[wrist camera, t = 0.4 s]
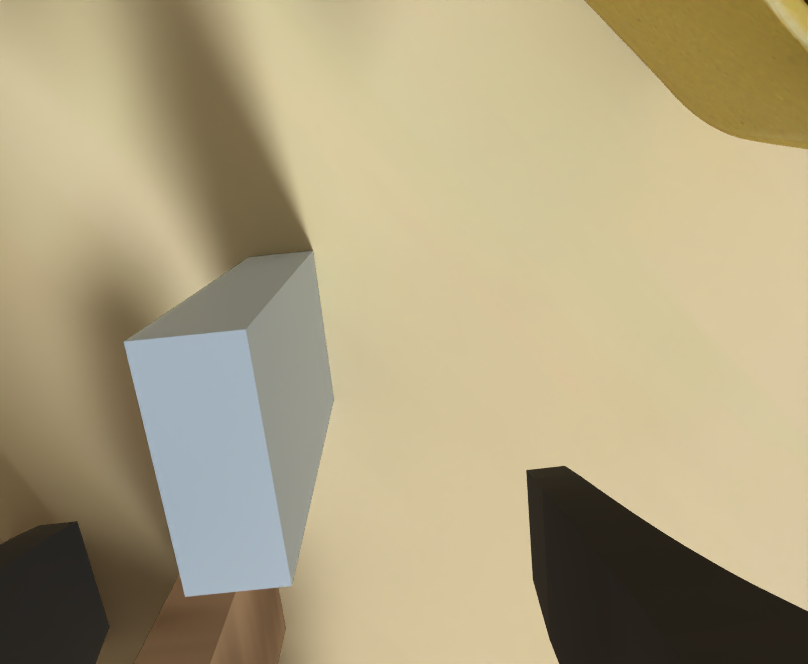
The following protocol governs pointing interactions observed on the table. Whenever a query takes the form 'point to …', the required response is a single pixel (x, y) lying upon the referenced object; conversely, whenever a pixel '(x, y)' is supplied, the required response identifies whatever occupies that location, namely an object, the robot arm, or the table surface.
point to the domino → (216, 629)
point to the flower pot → (725, 60)
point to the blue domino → (237, 420)
